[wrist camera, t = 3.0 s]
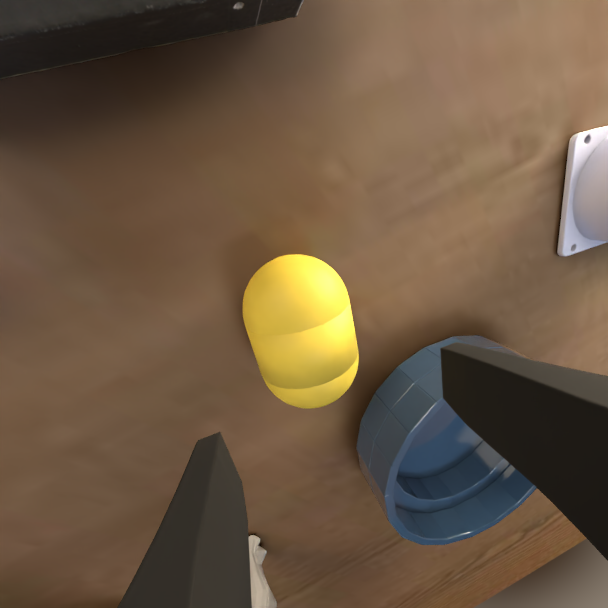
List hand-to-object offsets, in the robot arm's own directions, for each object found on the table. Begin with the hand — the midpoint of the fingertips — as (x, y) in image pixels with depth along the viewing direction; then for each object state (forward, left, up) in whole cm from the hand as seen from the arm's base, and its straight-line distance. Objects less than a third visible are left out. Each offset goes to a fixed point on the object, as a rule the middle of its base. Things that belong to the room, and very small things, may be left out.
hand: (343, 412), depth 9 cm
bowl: (-10, +13, -9) cm, 18 cm away
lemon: (0, 0, -6) cm, 6 cm away
